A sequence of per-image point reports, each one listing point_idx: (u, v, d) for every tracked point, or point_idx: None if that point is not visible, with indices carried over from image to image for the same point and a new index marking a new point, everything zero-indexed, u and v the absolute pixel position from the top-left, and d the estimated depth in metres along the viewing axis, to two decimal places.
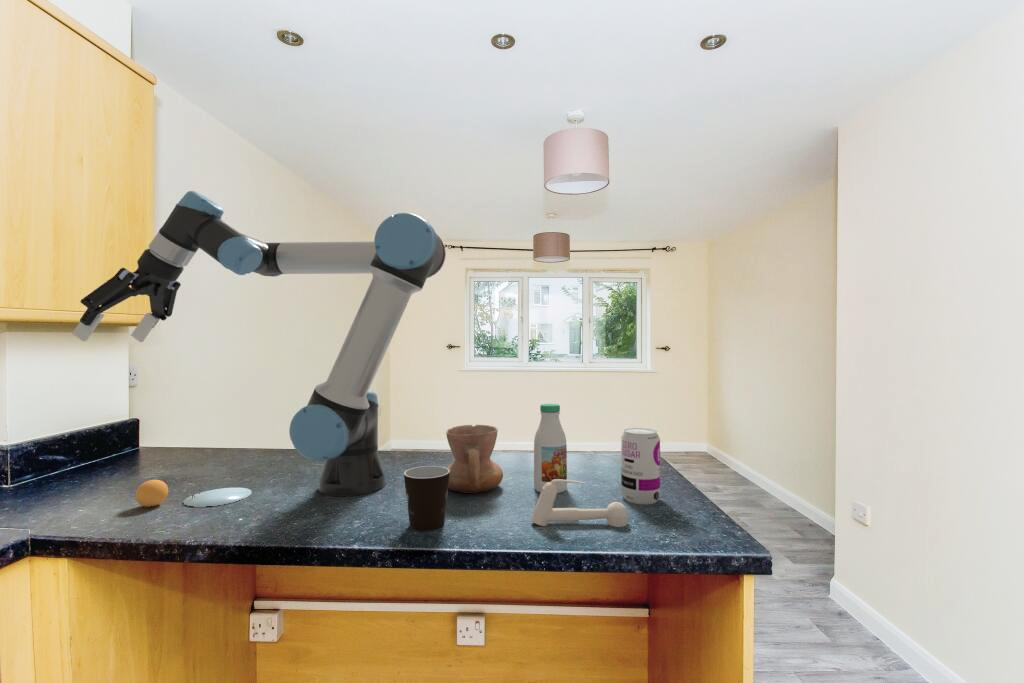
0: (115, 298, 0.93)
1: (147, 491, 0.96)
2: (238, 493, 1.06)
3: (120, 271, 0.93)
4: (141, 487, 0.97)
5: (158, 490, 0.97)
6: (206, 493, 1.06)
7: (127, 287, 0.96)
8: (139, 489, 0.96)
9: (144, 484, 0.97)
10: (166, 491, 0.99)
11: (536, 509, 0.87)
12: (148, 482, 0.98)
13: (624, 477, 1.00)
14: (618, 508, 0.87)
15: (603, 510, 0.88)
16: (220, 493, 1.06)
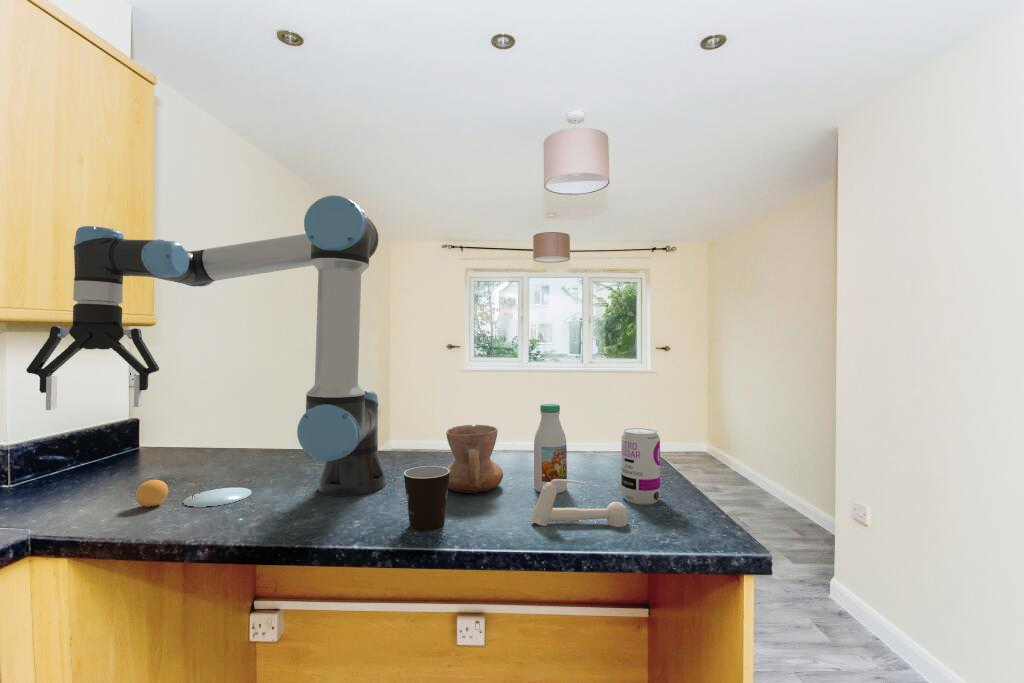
0: None
1: (147, 491, 0.96)
2: (238, 493, 1.06)
3: None
4: (141, 487, 0.97)
5: (158, 490, 0.97)
6: (206, 493, 1.06)
7: None
8: (139, 489, 0.96)
9: (144, 484, 0.97)
10: (166, 491, 0.99)
11: (536, 508, 0.87)
12: (148, 482, 0.98)
13: (624, 477, 1.00)
14: (618, 507, 0.87)
15: (603, 510, 0.88)
16: (220, 493, 1.06)
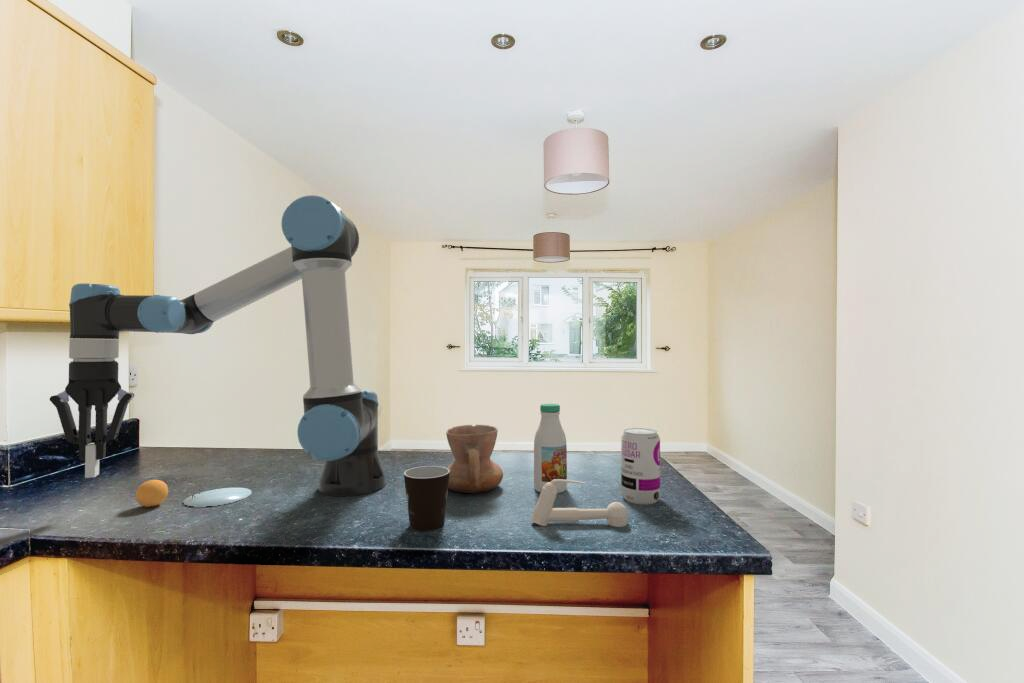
0: None
1: (147, 491, 0.96)
2: (238, 493, 1.06)
3: None
4: (141, 487, 0.97)
5: (158, 490, 0.97)
6: (206, 493, 1.06)
7: None
8: (139, 489, 0.96)
9: (144, 484, 0.97)
10: (166, 491, 0.99)
11: (536, 508, 0.87)
12: (148, 482, 0.98)
13: (624, 477, 1.00)
14: (618, 508, 0.87)
15: (603, 510, 0.88)
16: (220, 493, 1.06)
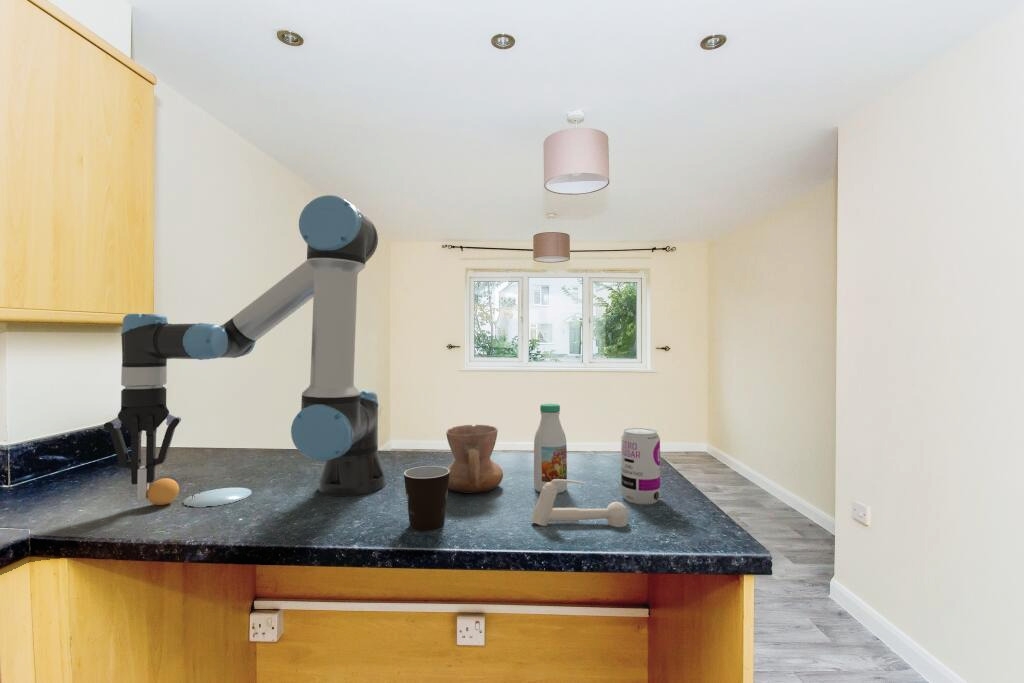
0: None
1: (161, 489, 0.97)
2: (238, 493, 1.06)
3: None
4: (157, 483, 0.98)
5: (170, 491, 0.98)
6: (206, 493, 1.06)
7: None
8: (154, 484, 0.98)
9: (161, 481, 0.98)
10: (176, 494, 1.00)
11: (536, 508, 0.87)
12: (165, 480, 0.99)
13: (624, 477, 1.00)
14: (618, 507, 0.87)
15: (603, 510, 0.88)
16: (220, 493, 1.06)
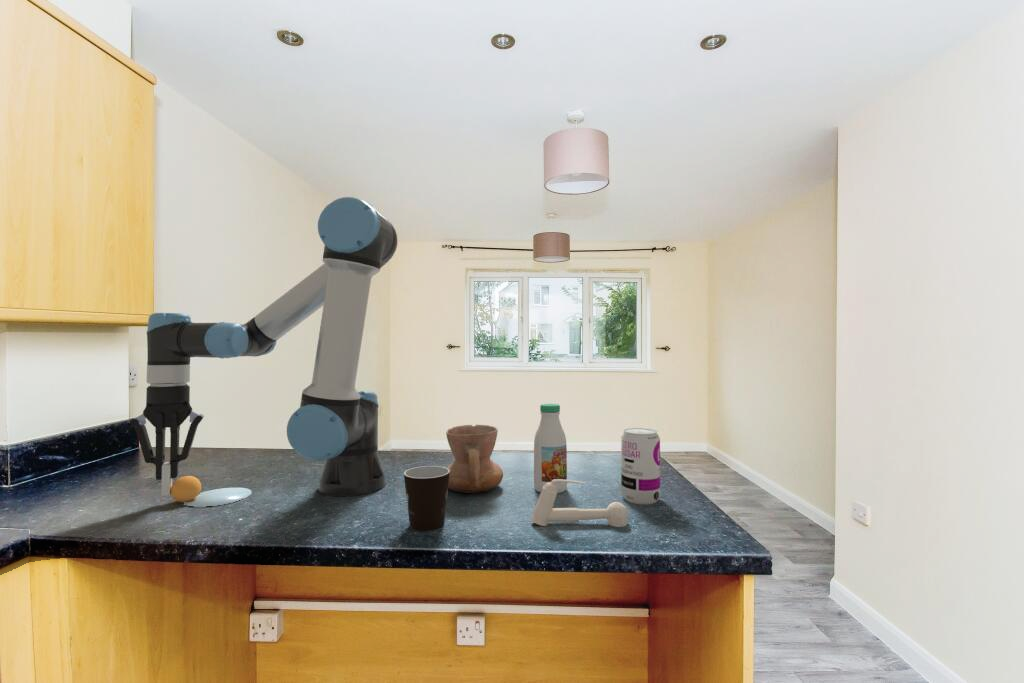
0: None
1: (186, 487, 0.99)
2: (238, 493, 1.06)
3: None
4: (186, 479, 1.00)
5: (193, 492, 1.00)
6: (206, 493, 1.06)
7: None
8: (183, 479, 1.00)
9: (190, 478, 1.01)
10: (195, 496, 1.01)
11: (536, 509, 0.87)
12: (193, 479, 1.01)
13: (624, 477, 1.00)
14: (618, 508, 0.87)
15: (603, 510, 0.88)
16: (220, 493, 1.06)
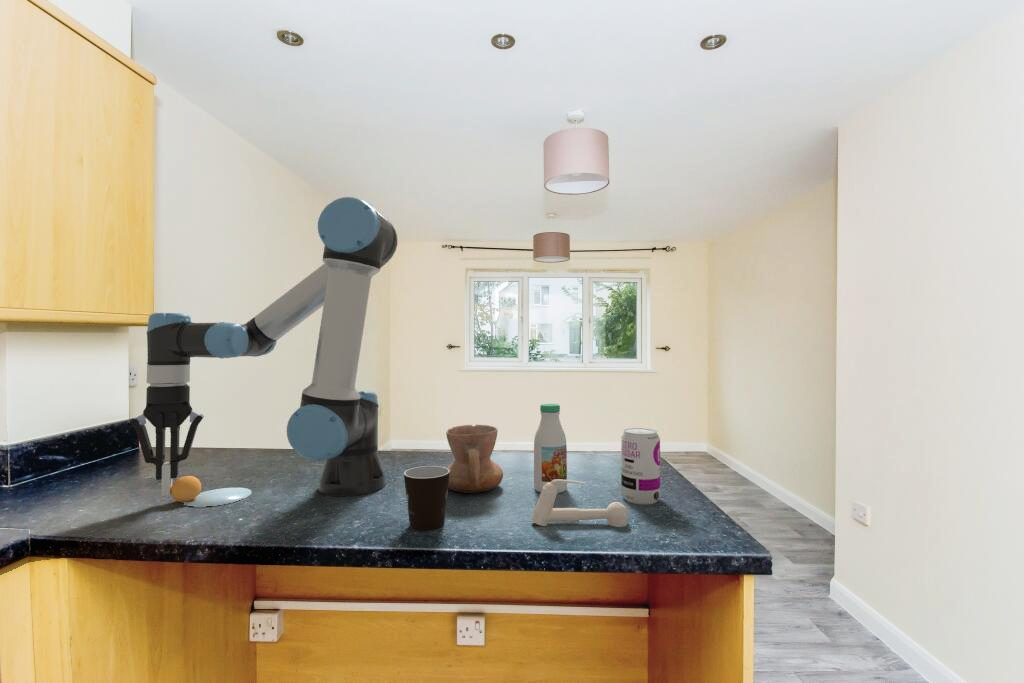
0: None
1: (186, 487, 0.99)
2: (238, 493, 1.06)
3: None
4: (186, 479, 1.00)
5: (193, 492, 1.00)
6: (206, 493, 1.06)
7: None
8: (183, 479, 1.00)
9: (190, 478, 1.01)
10: (196, 496, 1.01)
11: (536, 509, 0.87)
12: (193, 479, 1.01)
13: (624, 477, 1.00)
14: (618, 508, 0.87)
15: (603, 510, 0.88)
16: (220, 493, 1.06)
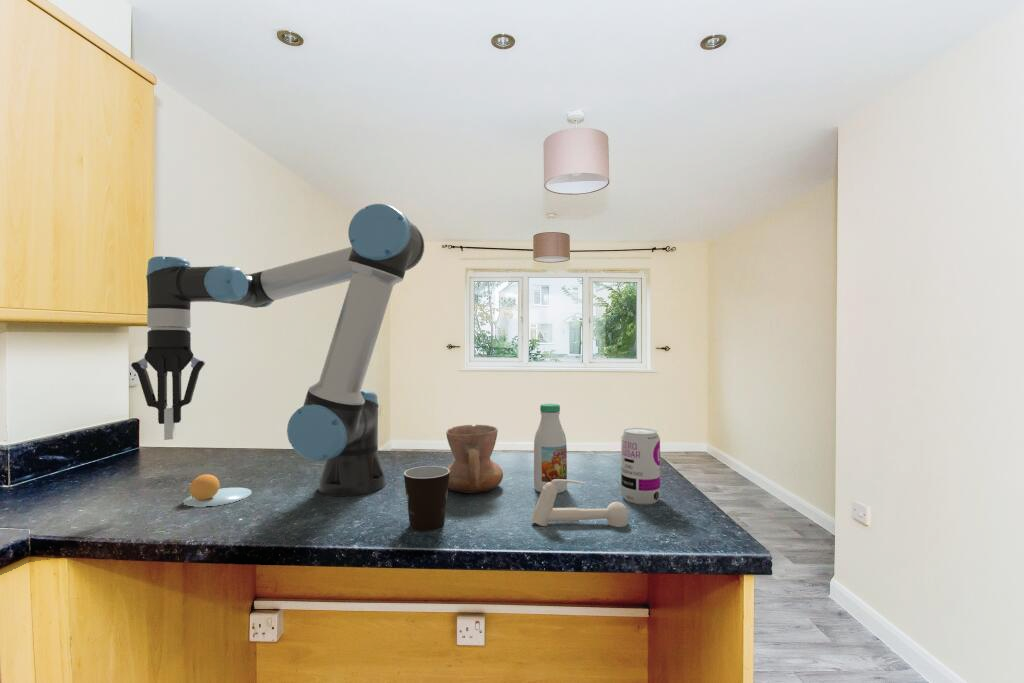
0: None
1: (207, 492, 1.00)
2: (238, 493, 1.06)
3: None
4: (215, 486, 1.02)
5: (203, 498, 1.01)
6: None
7: None
8: (214, 484, 1.02)
9: (216, 488, 1.02)
10: None
11: (536, 508, 0.87)
12: (216, 491, 1.03)
13: (624, 477, 1.00)
14: (618, 507, 0.87)
15: (603, 510, 0.88)
16: (220, 493, 1.06)
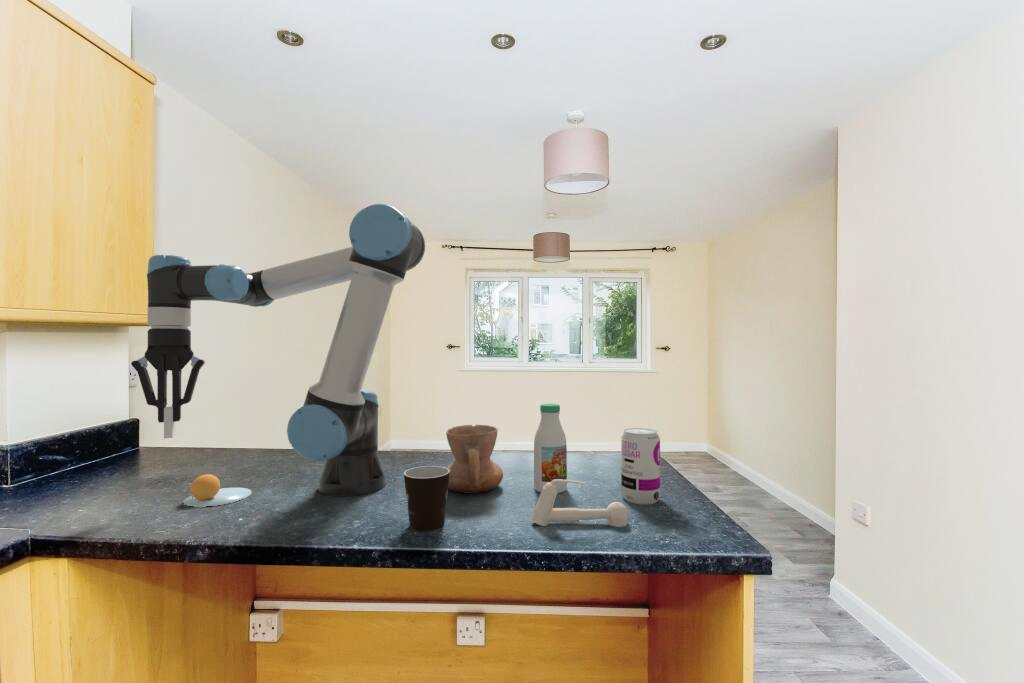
0: None
1: (208, 492, 1.00)
2: (238, 493, 1.06)
3: None
4: (216, 487, 1.02)
5: (203, 498, 1.01)
6: None
7: None
8: (215, 485, 1.02)
9: (217, 489, 1.02)
10: None
11: (536, 509, 0.87)
12: (217, 491, 1.03)
13: (624, 477, 1.00)
14: (618, 508, 0.87)
15: (603, 510, 0.88)
16: (220, 493, 1.06)
